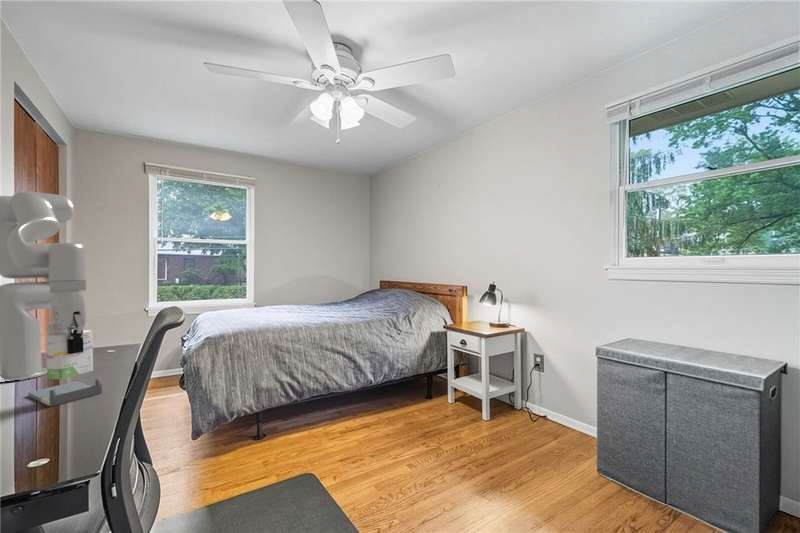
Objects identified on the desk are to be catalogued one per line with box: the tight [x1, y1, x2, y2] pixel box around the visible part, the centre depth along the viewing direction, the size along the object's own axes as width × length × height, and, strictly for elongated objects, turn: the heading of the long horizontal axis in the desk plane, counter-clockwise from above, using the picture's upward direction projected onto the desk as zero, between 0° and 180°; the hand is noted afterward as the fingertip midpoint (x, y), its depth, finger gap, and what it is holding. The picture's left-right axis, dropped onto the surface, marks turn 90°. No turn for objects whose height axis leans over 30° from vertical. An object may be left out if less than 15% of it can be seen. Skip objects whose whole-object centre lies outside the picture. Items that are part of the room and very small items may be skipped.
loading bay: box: [27, 378, 103, 407], centre depth 102 cm, size 17×11×4 cm, turn 60°
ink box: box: [45, 323, 94, 380], centre depth 100 cm, size 9×5×15 cm, turn 168°
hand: (70, 351), depth 100 cm, fingers closed on ink box, 6 cm apart
